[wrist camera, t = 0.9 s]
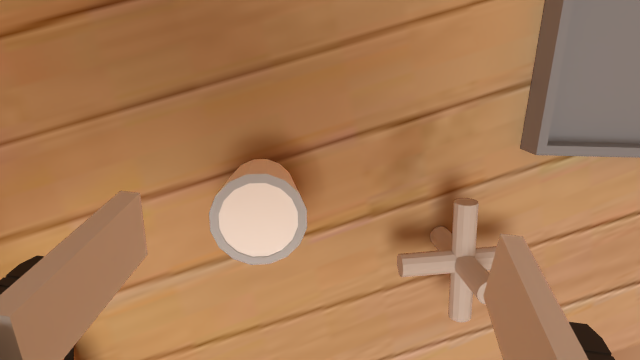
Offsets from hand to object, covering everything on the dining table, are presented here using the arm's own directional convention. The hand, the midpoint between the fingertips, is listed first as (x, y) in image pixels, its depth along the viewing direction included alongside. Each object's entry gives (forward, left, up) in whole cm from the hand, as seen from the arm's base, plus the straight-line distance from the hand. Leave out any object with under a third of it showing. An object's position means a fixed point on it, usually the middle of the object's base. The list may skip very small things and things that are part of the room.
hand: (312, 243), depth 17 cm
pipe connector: (+9, +14, -22) cm, 27 cm away
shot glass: (+5, -2, -22) cm, 22 cm away
